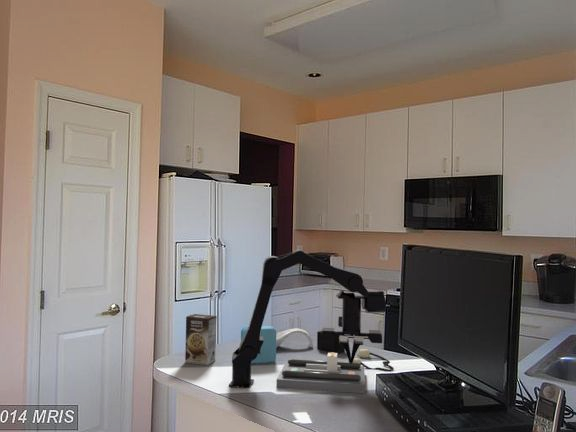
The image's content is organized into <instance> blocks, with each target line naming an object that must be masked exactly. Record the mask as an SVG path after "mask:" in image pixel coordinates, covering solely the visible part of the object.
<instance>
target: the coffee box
mask: <svg viewBox="0 0 576 432" xmlns="http://www.w3.org/2000/svg"><path fill="white" fill-rule="evenodd" d="M185 318H186V319H185V350H184V351H185V355H184V356H185V357H184V359H185V360H184V361H185V363H189V364H195V365H202V366H209V365H210V364H212V363H214V362H215V361H216V354H217V353H216V350H217V349H216V347H217V346H216V344H217V339H216V338H217V315H211V314H210V315H209V314H200V313H194V314H189V315H187V316H186V317H185Z"/></svg>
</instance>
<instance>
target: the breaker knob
mask: <svg viewBox="0 0 576 432" xmlns="http://www.w3.org/2000/svg"><path fill="white" fill-rule="evenodd" d="M338 355H339V354H338V353H334V352H327V356H326V361H327V370H331V371H337V362H338Z"/></svg>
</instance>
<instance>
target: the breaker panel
mask: <svg viewBox="0 0 576 432" xmlns="http://www.w3.org/2000/svg"><path fill="white" fill-rule="evenodd" d="M365 382H366V380H365V367H364V366H362V365H360V363H352V364H351V363H349V362H348V361H347V362H346V361H337V371H331V370H327V360H313V359H295V358H289V359H288V360H287V361H285V363H284V365H283V366H282V368H281V370H280V372H279V374H278V376H277V377H276V388H277V389H291V390H293V389H294V390H306V391H307V390H308V391H309V390H310V391H320V390H322V392H325V391H326V392H336V393H337V392H339V393H353V394H356V393H357V394H365V393H366V392H365V391H366V390H365V388H366V383H365Z"/></svg>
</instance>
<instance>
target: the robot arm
mask: <svg viewBox="0 0 576 432" xmlns="http://www.w3.org/2000/svg"><path fill="white" fill-rule="evenodd" d="M298 264H299V265H302V266H304V267H306V268H308V269H310V270H313V271H315V272H317V273H319V274H322V275H324V276H326V277H327V278H330V279H332V280H333V281H335V283H338V284H339V285H340V286H341V287H343V288H345V290H347V291H349V292H345V291H344V290H342V289H341V290H340V291H339V292H338V293H337V294H336V295H335V296H336V298H337V299H339V300H342V311H341V312H342V316H338V322H337V324H338V325H337V326H338V328H342V329H341V330H339V331H335V328H334V327H322V329H321V330H320V331H321V340H326V341H331V340H332V339H333V337H337V338H339V339H340V340H339V344H342V345H343V347H344V349H345V353H346V357H347V361H349V363H351V364H352V363H353V360H354V358H356V357H355V356H356V355H357V353H358V351H359V348H360V346H363V345H364V340H369V342H370V343H371V344H383V333H382V331H381V330H380V329H379V330H376V329H369V330H368V332H362V329H361V328H362V321H361V319H362V310H364V312H365V313H366V314H367V313H368V314H369V313H370V314H373V313H375V314H377V313H378V314H383V313H386V311H387V302H386V297H385V291H383V290H373V291H372V290H370V291H369V290H368V289H367V288H366V287H365V285H364V281H363V277H362V276H361V275H360V274H358V273H356V272H353V271H351V270H347V269H343V268H339V267H335V266H334V265H331V264H330V263H327V262H325V261H323V260H321V259H318V258H316V257H314V256H312V255H310V254H307V253H305V251H303V250H302V249H296V250H293V251H292V252H288V253H285V254H282V255H279V256H275V255H271V256H268V257H266V258H265V259H264V261H263V264H262V273H261V283H260V286H259V291H258V293H257V298H256V301H255V303H254V308H253V311H252V315H251V318H250V321H249V325H248V326H247V327H248V329H247V331H246V332H245V334H244V336H243V338H242V340H241V339H240V343H239V346H238V347H237V349H235V351H233V353H232V355H231V357H232V358H231V364H232V365H231V367H232V370H231V371H232V373H231V381H230V383H229V384H228V388H229V387H230V388H245V389H246V388H249V389H250V388H251V386H252V385H253V384H254V381H255V379H253V378H252V364H251V362H252V360H254V359H256V357H257V355H258V353H259V354H260V349H261V346H262V344H263V342H264V340H263V336H260V331H261V327H262V326H263V323H264V320H265V317H266V314H267V309H268V306H269V304H270V303H269V302H270V298H271V295H272V293H273V290H274V289H273V288H274V287H275V285H276V283H277V281H278V280H279V278H280V276H281V274H282V272H283V271H284V270H287V269H289V268H291V267H294V266H296V265H298ZM355 293H357V294H358V295H356V294H355ZM359 294H360V295H359ZM350 339H353V341H352V347H351V346H350ZM351 348H352V350H351Z"/></svg>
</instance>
